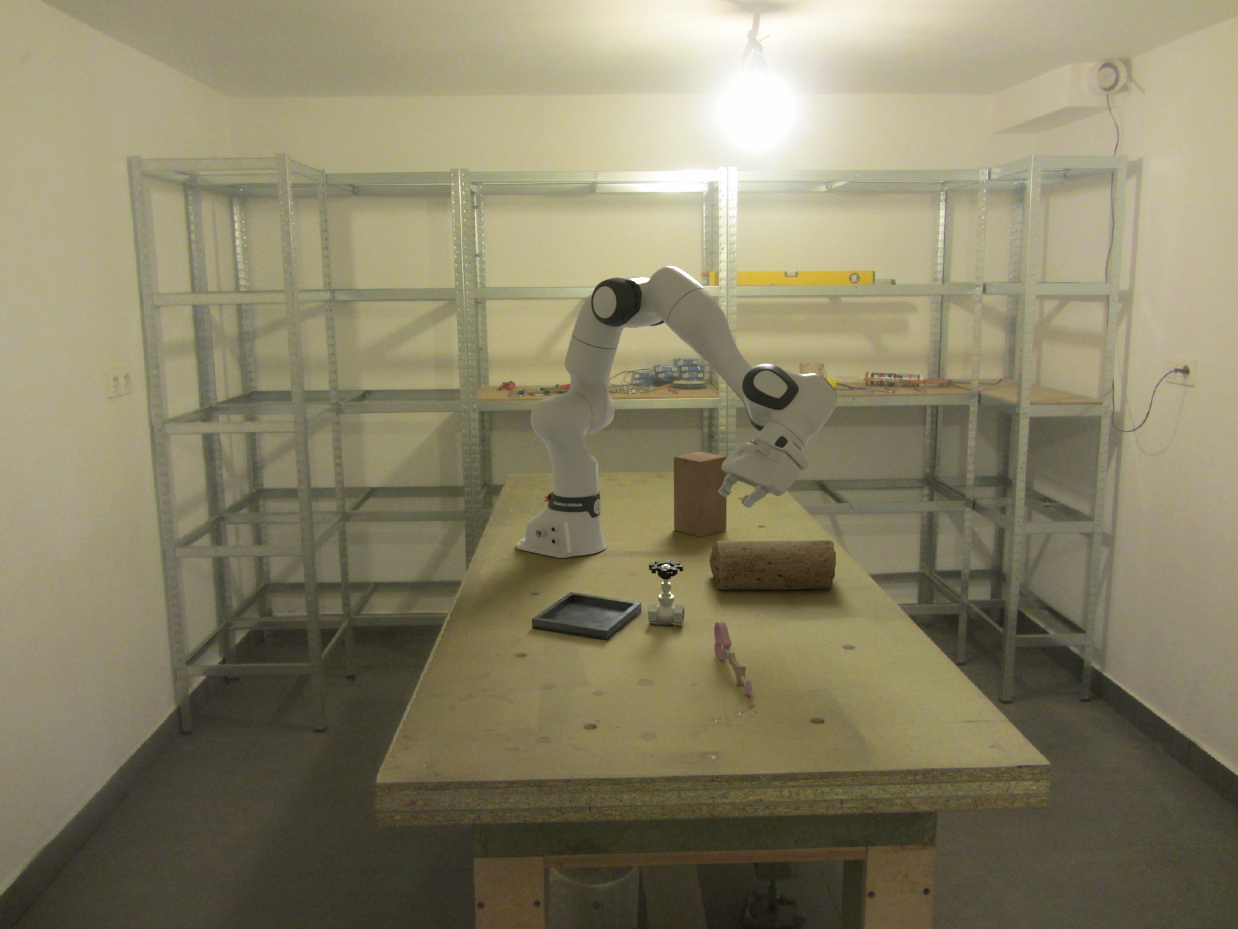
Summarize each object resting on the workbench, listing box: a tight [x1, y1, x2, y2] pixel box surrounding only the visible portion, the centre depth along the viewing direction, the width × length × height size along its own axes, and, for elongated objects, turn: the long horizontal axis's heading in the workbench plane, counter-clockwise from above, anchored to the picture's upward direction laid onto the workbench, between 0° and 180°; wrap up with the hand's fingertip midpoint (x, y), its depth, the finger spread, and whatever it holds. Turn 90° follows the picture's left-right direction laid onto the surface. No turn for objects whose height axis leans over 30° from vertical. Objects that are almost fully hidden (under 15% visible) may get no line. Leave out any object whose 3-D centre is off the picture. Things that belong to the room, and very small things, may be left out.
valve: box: [647, 559, 685, 626], centre depth 174 cm, size 7×7×12 cm
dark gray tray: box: [531, 591, 642, 642], centre depth 178 cm, size 16×16×2 cm
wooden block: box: [673, 451, 728, 538], centre depth 237 cm, size 10×10×20 cm
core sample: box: [708, 539, 837, 591], centre depth 196 cm, size 14×26×10 cm, turn 88°
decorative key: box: [713, 621, 755, 700], centre depth 152 cm, size 7×1×20 cm
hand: (733, 500), depth 176 cm, fingers open, 8 cm apart
